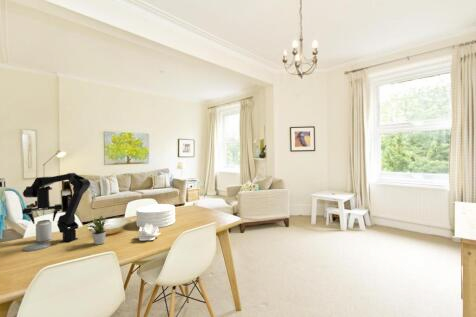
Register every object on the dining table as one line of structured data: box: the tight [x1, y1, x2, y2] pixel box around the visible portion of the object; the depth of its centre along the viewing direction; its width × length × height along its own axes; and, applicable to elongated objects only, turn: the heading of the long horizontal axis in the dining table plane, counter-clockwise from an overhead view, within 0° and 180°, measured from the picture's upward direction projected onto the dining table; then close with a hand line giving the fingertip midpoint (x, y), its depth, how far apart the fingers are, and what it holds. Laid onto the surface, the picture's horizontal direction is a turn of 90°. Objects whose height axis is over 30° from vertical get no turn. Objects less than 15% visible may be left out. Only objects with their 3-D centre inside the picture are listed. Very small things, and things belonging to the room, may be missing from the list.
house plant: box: [85, 214, 110, 245], centre depth 140 cm, size 14×14×16 cm
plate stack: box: [135, 203, 176, 229], centre depth 181 cm, size 28×28×12 cm
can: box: [35, 219, 53, 243], centre depth 145 cm, size 8×8×12 cm
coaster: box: [23, 241, 52, 252], centre depth 134 cm, size 12×12×1 cm
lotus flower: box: [135, 223, 162, 241], centre depth 147 cm, size 14×15×9 cm
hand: (43, 222), depth 145 cm, fingers open, 9 cm apart
